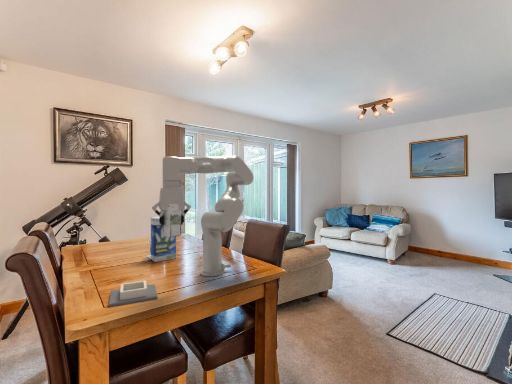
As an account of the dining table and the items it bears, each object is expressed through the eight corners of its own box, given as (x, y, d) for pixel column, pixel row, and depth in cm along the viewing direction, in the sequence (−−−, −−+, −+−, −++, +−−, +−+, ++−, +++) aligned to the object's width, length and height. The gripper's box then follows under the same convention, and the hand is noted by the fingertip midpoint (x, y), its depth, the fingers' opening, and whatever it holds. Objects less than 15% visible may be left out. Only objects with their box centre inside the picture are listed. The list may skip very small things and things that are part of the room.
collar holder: (154, 286, 118) (154, 277, 118) (157, 298, 106) (157, 288, 106) (111, 292, 111) (111, 283, 111) (108, 307, 98) (108, 296, 98)
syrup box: (173, 234, 121) (173, 202, 121) (181, 235, 117) (181, 202, 117) (162, 236, 117) (162, 203, 116) (170, 237, 113) (169, 203, 112)
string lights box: (154, 262, 154) (154, 218, 154) (150, 259, 160) (149, 217, 159) (176, 258, 163) (176, 216, 162) (171, 255, 169) (171, 215, 168)
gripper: (189, 184, 123) (190, 222, 124) (149, 184, 116) (150, 225, 116) (193, 184, 117) (193, 224, 117) (151, 184, 109) (151, 227, 110)
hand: (171, 224), depth 117 cm, fingers closed on syrup box, 7 cm apart
